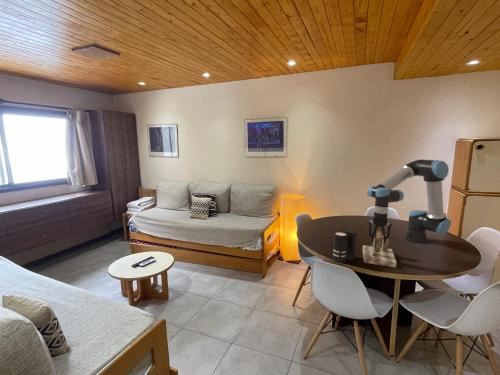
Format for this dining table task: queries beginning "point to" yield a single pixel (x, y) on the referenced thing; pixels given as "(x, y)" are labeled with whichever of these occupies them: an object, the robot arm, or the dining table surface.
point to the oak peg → (378, 240)
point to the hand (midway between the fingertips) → (377, 247)
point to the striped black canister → (344, 246)
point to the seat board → (379, 255)
